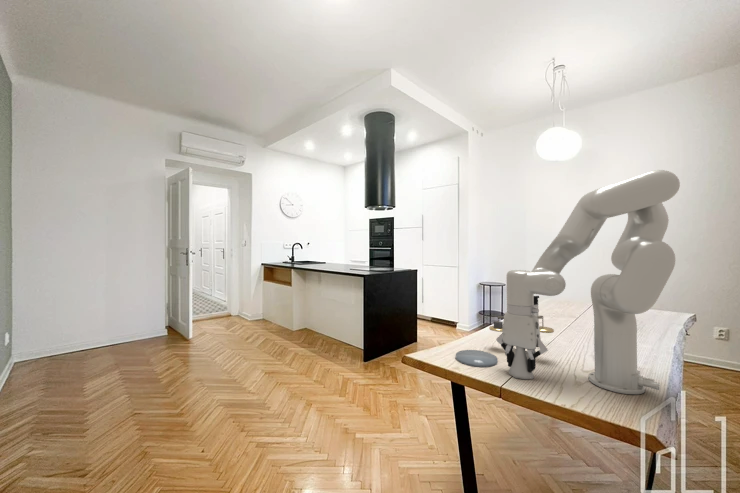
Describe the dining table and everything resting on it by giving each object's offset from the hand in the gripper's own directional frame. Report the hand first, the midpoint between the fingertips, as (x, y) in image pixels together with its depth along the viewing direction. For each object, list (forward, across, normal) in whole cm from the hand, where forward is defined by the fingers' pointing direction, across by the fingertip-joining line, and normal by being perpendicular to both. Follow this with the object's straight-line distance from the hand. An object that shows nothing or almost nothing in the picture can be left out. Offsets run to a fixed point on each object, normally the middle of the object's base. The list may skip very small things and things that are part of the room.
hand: (520, 367), depth 92 cm
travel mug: (+2, +9, -33) cm, 34 cm away
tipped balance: (+2, +7, -17) cm, 19 cm away
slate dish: (+2, +16, -2) cm, 16 cm away
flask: (+3, 0, 0) cm, 3 cm away
